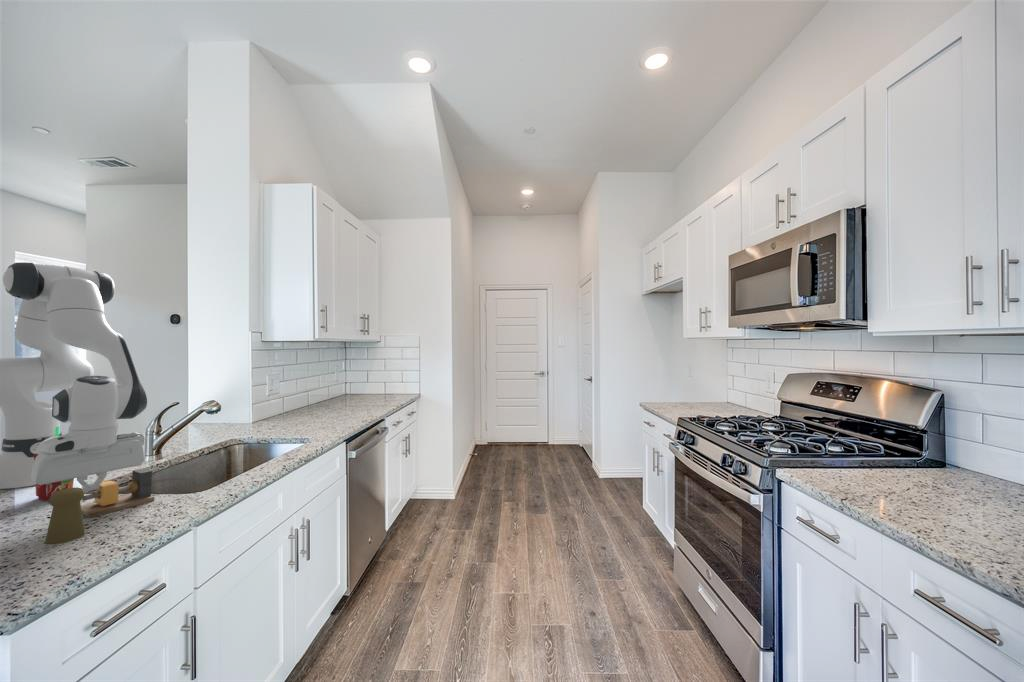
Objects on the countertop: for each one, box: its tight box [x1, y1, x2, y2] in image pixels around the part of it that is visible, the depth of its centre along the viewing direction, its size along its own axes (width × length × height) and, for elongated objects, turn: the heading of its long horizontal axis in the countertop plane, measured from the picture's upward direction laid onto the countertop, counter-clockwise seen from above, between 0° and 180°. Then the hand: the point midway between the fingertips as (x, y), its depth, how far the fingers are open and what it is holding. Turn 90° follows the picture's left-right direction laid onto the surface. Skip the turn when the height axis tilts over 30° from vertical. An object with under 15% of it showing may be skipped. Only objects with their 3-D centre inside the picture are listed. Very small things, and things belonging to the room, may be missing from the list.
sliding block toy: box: [80, 467, 155, 518], centre depth 107 cm, size 9×13×8 cm
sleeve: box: [94, 480, 120, 506], centre depth 105 cm, size 5×3×5 cm, turn 63°
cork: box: [44, 487, 86, 546], centre depth 89 cm, size 6×6×11 cm
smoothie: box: [33, 426, 75, 502], centre depth 112 cm, size 8×8×20 cm
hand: (91, 491), depth 103 cm, fingers closed
